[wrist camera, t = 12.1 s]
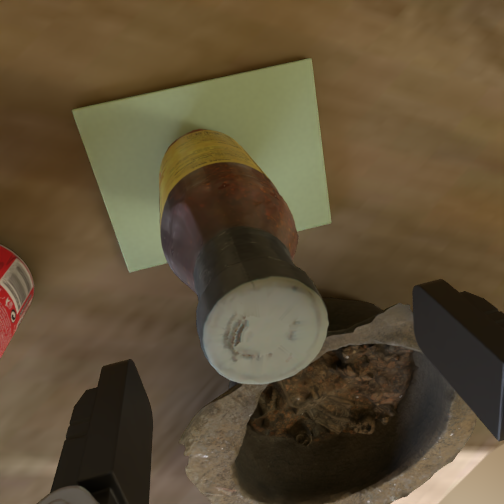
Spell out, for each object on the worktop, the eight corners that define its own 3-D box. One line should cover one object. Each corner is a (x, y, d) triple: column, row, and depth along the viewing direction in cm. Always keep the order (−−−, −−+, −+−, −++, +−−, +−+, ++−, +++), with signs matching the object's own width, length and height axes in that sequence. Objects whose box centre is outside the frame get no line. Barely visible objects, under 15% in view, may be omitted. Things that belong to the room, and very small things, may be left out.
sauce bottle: (141, 173, 30) (93, 340, 12) (202, 105, 29) (250, 179, 11) (210, 232, 33) (256, 442, 15) (269, 172, 32) (396, 319, 14)
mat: (129, 269, 33) (129, 272, 33) (73, 109, 28) (71, 110, 28) (329, 220, 35) (331, 223, 34) (309, 57, 29) (311, 57, 29)
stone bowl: (326, 202, 33) (385, 256, 25) (473, 353, 45) (546, 422, 37) (119, 408, 38) (114, 510, 30) (302, 498, 49) (334, 589, 41)
